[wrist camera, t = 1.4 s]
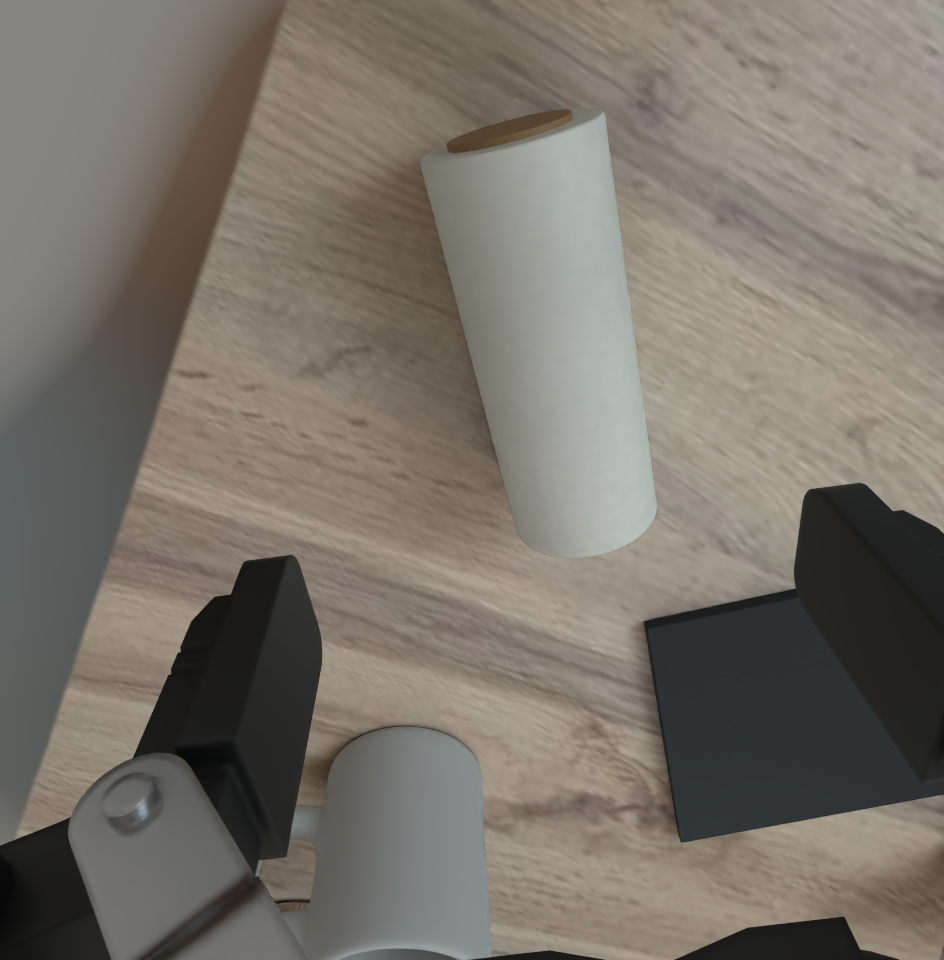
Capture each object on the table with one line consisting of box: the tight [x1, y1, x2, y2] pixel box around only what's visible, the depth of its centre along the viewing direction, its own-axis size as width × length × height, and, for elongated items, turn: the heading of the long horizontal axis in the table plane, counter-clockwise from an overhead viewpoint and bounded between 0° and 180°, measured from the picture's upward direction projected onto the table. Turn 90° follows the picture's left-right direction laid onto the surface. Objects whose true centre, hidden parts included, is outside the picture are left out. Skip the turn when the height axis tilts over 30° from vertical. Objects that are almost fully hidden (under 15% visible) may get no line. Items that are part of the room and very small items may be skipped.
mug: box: [255, 726, 492, 960], centre depth 35 cm, size 12×8×11 cm
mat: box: [644, 589, 944, 843], centre depth 39 cm, size 20×18×1 cm
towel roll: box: [420, 109, 657, 558], centre depth 25 cm, size 6×14×6 cm, turn 14°
